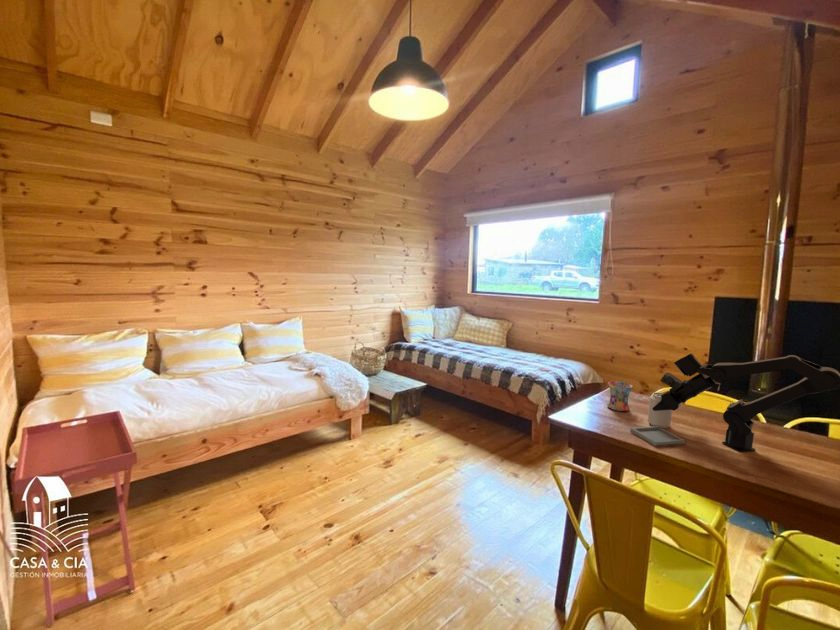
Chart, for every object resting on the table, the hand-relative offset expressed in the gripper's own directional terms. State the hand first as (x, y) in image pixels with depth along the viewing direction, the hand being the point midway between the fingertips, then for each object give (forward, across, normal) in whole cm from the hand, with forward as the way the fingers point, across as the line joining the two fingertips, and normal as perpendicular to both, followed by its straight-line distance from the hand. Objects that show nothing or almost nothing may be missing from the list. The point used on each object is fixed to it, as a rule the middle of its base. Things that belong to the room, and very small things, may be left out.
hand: (656, 407), depth 148 cm
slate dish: (+2, +14, +8) cm, 16 cm away
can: (+4, 0, +6) cm, 7 cm away
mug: (+16, -7, -6) cm, 18 cm away
